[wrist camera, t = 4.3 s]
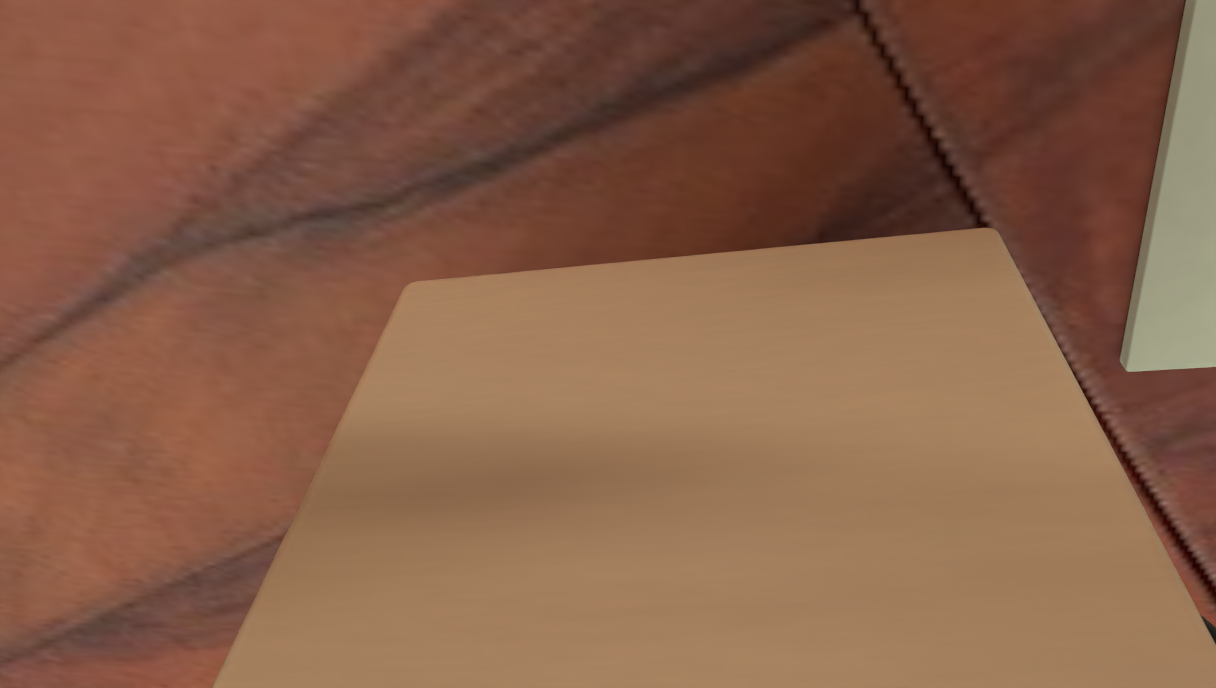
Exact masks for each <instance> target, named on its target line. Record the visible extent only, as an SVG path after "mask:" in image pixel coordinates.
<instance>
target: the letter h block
mask: <svg viewBox="0 0 1216 688" xmlns="http://www.w3.org/2000/svg"><path fill="white" fill-rule="evenodd" d="M212 688H1216V644H1215V642H1214V640H1213V638H1212V637H1211V635H1210V633H1209V631H1208V629H1207V627H1206V625H1205V623H1204V621H1203V619H1202V618H1201V616H1200V614H1199V612H1198V610H1197V608H1196V606H1195V604H1194V602H1193V600H1192V599H1191V597H1190V595H1189V593H1188V591H1187V589H1186V587H1185V585H1184V583H1183V582H1182V580H1181V578H1180V576H1179V574H1178V572H1177V570H1176V568H1175V566H1174V564H1173V563H1172V561H1171V559H1170V557H1169V555H1168V553H1167V551H1166V549H1165V547H1164V546H1163V544H1162V542H1161V540H1160V538H1159V536H1158V534H1157V532H1156V530H1155V528H1154V527H1153V525H1152V523H1151V521H1150V519H1149V517H1148V515H1147V513H1146V511H1145V509H1144V508H1143V506H1142V504H1141V502H1140V500H1139V498H1138V496H1137V494H1136V492H1135V491H1134V489H1133V487H1132V485H1131V483H1130V481H1129V479H1128V477H1127V475H1126V473H1125V472H1124V470H1123V468H1122V466H1121V464H1120V462H1119V460H1118V458H1117V456H1116V454H1115V453H1114V451H1113V449H1112V447H1111V445H1110V443H1109V441H1108V439H1107V437H1106V436H1105V434H1104V432H1103V430H1102V428H1101V426H1100V424H1099V422H1098V420H1097V418H1096V417H1095V415H1094V413H1093V411H1092V409H1091V407H1090V405H1089V403H1088V401H1087V399H1086V398H1085V396H1084V394H1083V392H1082V390H1081V388H1080V386H1079V384H1078V382H1077V381H1076V379H1075V377H1074V375H1073V373H1072V371H1071V369H1070V367H1069V365H1068V363H1067V362H1066V360H1065V358H1064V356H1063V354H1062V352H1061V350H1060V348H1059V346H1058V344H1057V343H1056V341H1055V339H1054V337H1053V335H1052V333H1051V331H1050V329H1049V327H1048V326H1047V324H1046V322H1045V320H1044V318H1043V316H1042V314H1041V312H1040V310H1039V308H1038V307H1037V305H1036V303H1035V301H1034V299H1033V297H1032V295H1031V293H1030V291H1029V289H1028V288H1027V286H1026V284H1025V282H1024V280H1023V278H1022V276H1021V274H1020V272H1019V271H1018V269H1017V267H1016V265H1015V263H1014V261H1013V259H1012V257H1011V255H1010V253H1009V252H1008V250H1007V248H1006V246H1005V244H1004V242H1003V240H1002V238H1001V236H1000V234H999V233H998V231H997V230H994V229H990V228H976V229H966V230H955V231H945V232H934V233H923V234H913V235H902V236H892V237H881V238H870V239H860V240H849V241H839V242H828V243H817V244H807V245H796V246H786V247H775V248H764V249H754V250H743V251H733V252H722V253H711V254H701V255H690V256H680V257H669V258H658V259H648V260H637V261H627V262H616V263H605V264H595V265H584V266H574V267H563V268H552V269H542V270H531V271H521V272H510V273H499V274H489V275H478V276H468V277H457V278H446V279H436V280H425V281H415V282H412V283H410V284H408V285H406V286H405V287H404V289H403V291H402V293H401V295H400V297H399V299H398V301H397V303H396V306H395V308H394V310H393V312H392V314H391V316H390V318H389V320H388V322H387V324H386V326H385V328H384V330H383V333H382V335H381V337H380V339H379V341H378V343H377V345H376V347H375V349H374V351H373V353H372V355H371V358H370V360H369V362H368V364H367V366H366V368H365V370H364V372H363V374H362V376H361V378H360V380H359V383H358V385H357V387H356V389H355V391H354V393H353V395H352V397H351V399H350V401H349V403H348V405H347V408H346V410H345V412H344V414H343V416H342V418H341V420H340V422H339V424H338V426H337V428H336V430H335V433H334V435H333V437H332V439H331V441H330V443H329V445H328V447H327V449H326V451H325V453H324V455H323V458H322V460H321V462H320V464H319V466H318V468H317V470H316V472H315V474H314V476H313V478H312V480H311V483H310V485H309V487H308V489H307V491H306V493H305V495H304V497H303V499H302V501H301V503H300V505H299V507H298V510H297V512H296V514H295V516H294V518H293V520H292V522H291V524H290V526H289V528H288V530H287V532H286V535H285V537H284V539H283V541H282V543H281V545H280V547H279V549H278V551H277V553H276V555H275V557H274V560H273V562H272V564H271V566H270V568H269V570H268V572H267V574H266V576H265V578H264V580H263V582H262V585H261V587H260V589H259V591H258V593H257V595H256V597H255V599H254V601H253V603H252V605H251V607H250V610H249V612H248V614H247V616H246V618H245V620H244V622H243V624H242V626H241V628H240V630H239V632H238V635H237V637H236V639H235V641H234V643H233V645H232V647H231V649H230V651H229V653H228V655H227V657H226V659H225V662H224V664H223V666H222V668H221V670H220V672H219V674H218V676H217V678H216V680H215V682H214V684H213V687H212Z"/></svg>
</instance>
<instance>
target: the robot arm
mask: <svg viewBox="0 0 1216 688" xmlns="http://www.w3.org/2000/svg"><path fill="white" fill-rule="evenodd" d="M1200 616H1201V615H1200ZM1201 618H1202V619H1203V621H1204V623H1205V625H1206V627H1207V629H1208V631H1209V633H1210V635H1211V637H1212V638H1213V640H1214V642H1215V644H1216V627H1214V626H1213V625H1212V624H1211V623H1210V622H1209V621H1207V620H1206V619H1205V618H1204V617H1203V616H1201Z"/></svg>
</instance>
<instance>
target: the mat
mask: <svg viewBox="0 0 1216 688" xmlns="http://www.w3.org/2000/svg"><path fill="white" fill-rule="evenodd" d="M1120 362H1121V363H1122V365H1123V367H1124V368H1125V370H1126V371H1128V372H1132V371H1149V370H1167V369H1185V368H1202V367H1216V0H1186V3H1185V8H1184V13H1183V19H1182V24H1181V30H1180V35H1179V41H1178V46H1177V51H1176V57H1175V62H1174V68H1173V73H1172V79H1171V84H1170V90H1169V95H1168V100H1167V106H1166V111H1165V117H1164V122H1163V128H1162V133H1161V138H1160V144H1159V149H1158V155H1157V160H1156V166H1155V171H1154V177H1153V182H1152V187H1151V193H1150V198H1149V204H1148V209H1147V215H1146V220H1145V225H1144V231H1143V236H1142V242H1141V247H1140V253H1139V258H1138V263H1137V269H1136V274H1135V280H1134V285H1133V291H1132V296H1131V302H1130V307H1129V312H1128V318H1127V323H1126V329H1125V334H1124V340H1123V345H1122V350H1121V356H1120Z"/></svg>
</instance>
